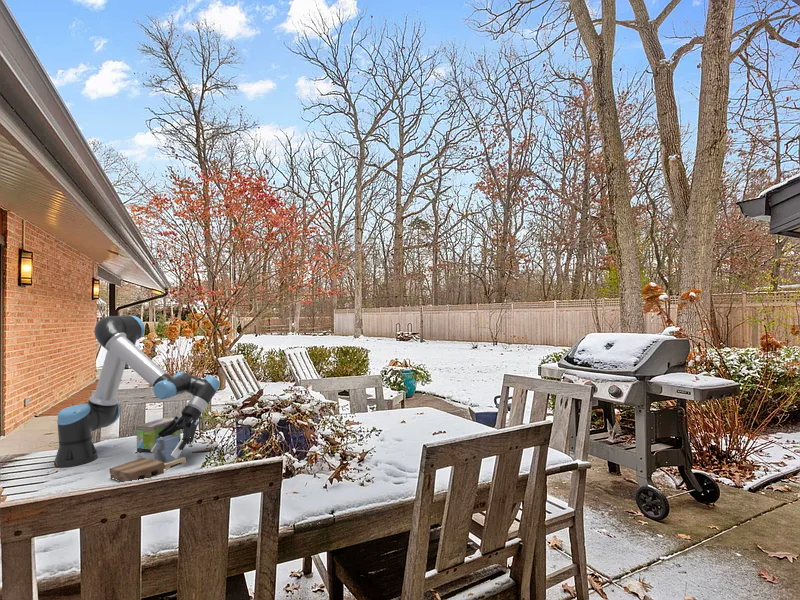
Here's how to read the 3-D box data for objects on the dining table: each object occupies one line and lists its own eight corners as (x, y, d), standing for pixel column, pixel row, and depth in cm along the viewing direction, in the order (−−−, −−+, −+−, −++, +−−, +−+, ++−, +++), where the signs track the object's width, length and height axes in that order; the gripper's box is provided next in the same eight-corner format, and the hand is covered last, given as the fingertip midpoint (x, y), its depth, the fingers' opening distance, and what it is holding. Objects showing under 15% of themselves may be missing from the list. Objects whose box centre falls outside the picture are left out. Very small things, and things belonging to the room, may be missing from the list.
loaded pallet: (152, 466, 188) (150, 439, 188) (172, 459, 195) (171, 433, 195) (165, 469, 183) (164, 442, 183) (186, 462, 191) (184, 435, 191)
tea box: (155, 461, 194) (153, 426, 194) (136, 460, 197) (134, 425, 197) (182, 450, 208) (180, 417, 208) (164, 449, 211) (162, 416, 211)
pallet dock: (110, 479, 176) (109, 468, 176) (143, 467, 187) (143, 457, 187) (130, 484, 169) (130, 473, 169) (164, 472, 180) (163, 462, 180)
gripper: (218, 415, 196) (189, 463, 183) (182, 411, 209) (151, 455, 196) (207, 406, 192) (175, 453, 179) (170, 402, 204) (138, 446, 191)
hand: (163, 454), depth 187 cm, fingers open, 13 cm apart
